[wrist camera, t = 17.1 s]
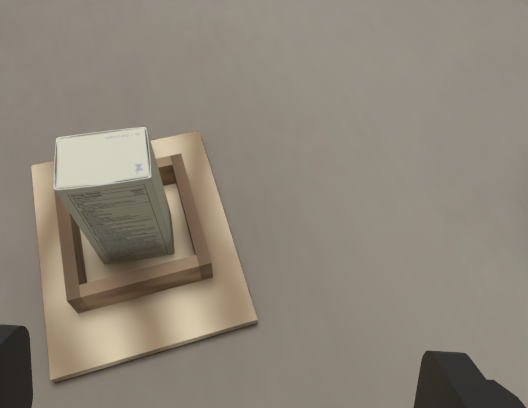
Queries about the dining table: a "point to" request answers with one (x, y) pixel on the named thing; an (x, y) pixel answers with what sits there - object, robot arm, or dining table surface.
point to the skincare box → (115, 193)
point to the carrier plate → (140, 273)
